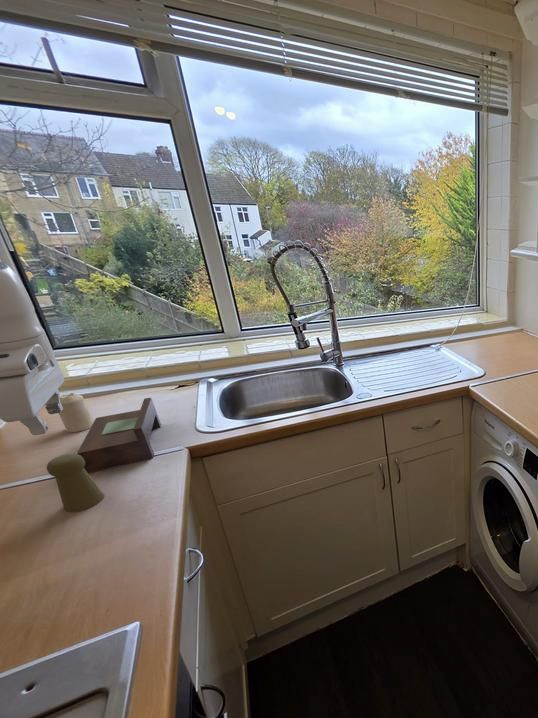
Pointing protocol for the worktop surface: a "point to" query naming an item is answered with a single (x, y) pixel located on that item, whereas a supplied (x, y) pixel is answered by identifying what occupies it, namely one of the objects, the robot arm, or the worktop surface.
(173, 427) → the worktop surface
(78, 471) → the cork
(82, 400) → the candle
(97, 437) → the brown block
